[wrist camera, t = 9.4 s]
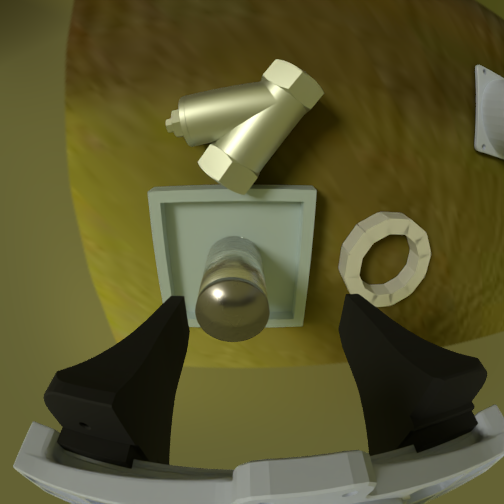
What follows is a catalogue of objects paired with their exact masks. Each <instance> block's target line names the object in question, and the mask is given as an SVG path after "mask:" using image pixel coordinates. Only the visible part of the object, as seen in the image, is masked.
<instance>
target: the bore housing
mask: <svg viewBox="0 0 504 504" xmlns="http://www.w3.org/2000/svg"><path fill="white" fill-rule="evenodd" d="M358 225H359V226H358ZM358 225H357V224H356V226H355V227H354V229H353V230H352V232H351V233H350V234H349V236H348V237H347V239H346V240H345V241H344V243H343V244H342V245H343V246H342V247H341V254H340V261H339V267H338V268H339V272H340V274H341V276H342V278H343V281H344V283H345V285H346V287H347V289H348V291H349V293H350V294H359V295H361V296H362V297H364V298H365V299H366V300H368V301H369V302H370V303H371V304H373V305H374V306H375V307H384V306H390V304H391V305H393V304H395V303H397V302H399V301H400V300H402V299H404V298H405V297H407V296H409V295H410V293H412V292H413V291H414V290H415V288H416V287H417V286H418V285H419V283H420V282H421V281H422V279H423V278H424V277H425V276H424V275H426V271H427V268H428V264H429V260H430V257H431V254H430V253H431V250H430V246H429V241H428V237H427V234H426V232H425V231H424V230H423V229H422V228H420V227H419V226H418V225H417V224H416V223H415V222H414V221H412V220H411V219H410V218H408V217H407V216H405V215H404V214H402V213H396V212H380V213H379V212H378V213H376V214H374V215H372V216H370V217H369V218H367V219H365V220H363V221H361V222H359V223H358ZM389 234H399V235H406V236H407V240H408V243H409V247H410V252H409V256H408V260H407V264H406V265H405V267H404V268H403V269H402V271H401V272H400V273H399V275H398V276H397V277H395V278H394V279H392V280H390V281H388V282H387V283H385V284H377V285H369V284H367V283H366V282H364V281H362V280H361V278H360V270H361V264H362V259H363V257H364V256H365V254H366V253H367V252H368V250H369V249H370V248H371V246H372V245H373V243H375V242H377V241H378V240H380V239H382V238H384V237H386V236H387V235H389Z"/></svg>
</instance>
